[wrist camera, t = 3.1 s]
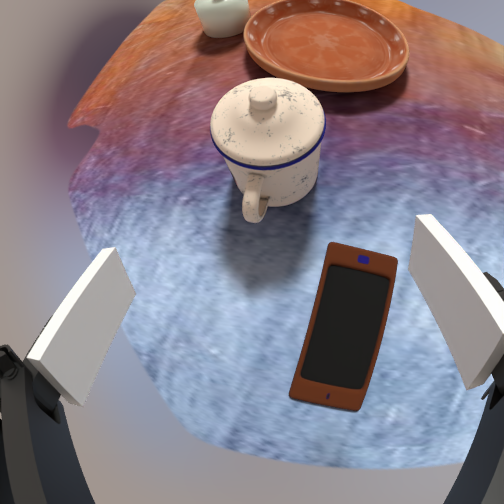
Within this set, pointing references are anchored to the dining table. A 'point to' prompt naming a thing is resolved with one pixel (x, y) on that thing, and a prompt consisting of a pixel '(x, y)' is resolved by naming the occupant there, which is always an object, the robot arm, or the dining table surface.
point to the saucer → (327, 44)
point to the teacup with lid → (269, 142)
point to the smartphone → (345, 327)
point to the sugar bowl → (223, 16)
